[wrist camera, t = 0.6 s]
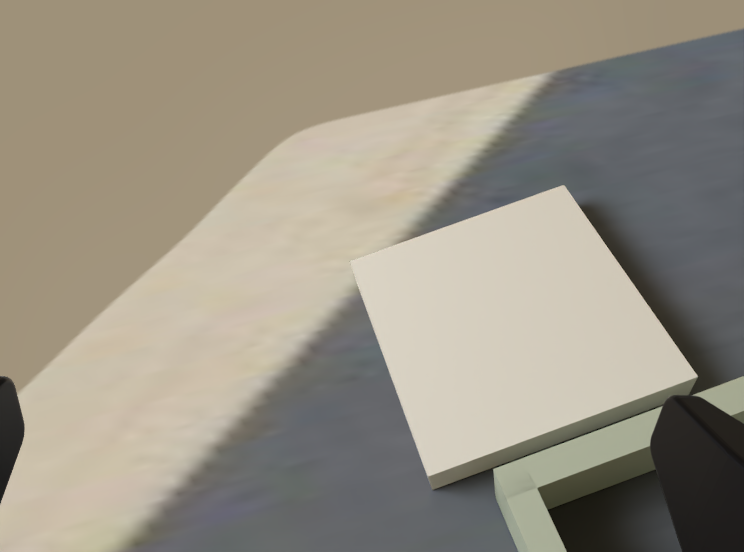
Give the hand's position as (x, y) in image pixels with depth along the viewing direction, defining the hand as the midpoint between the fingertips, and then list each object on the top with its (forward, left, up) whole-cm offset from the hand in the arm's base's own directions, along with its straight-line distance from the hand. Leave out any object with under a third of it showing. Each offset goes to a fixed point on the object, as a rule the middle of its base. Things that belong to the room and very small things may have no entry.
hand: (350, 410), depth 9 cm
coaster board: (+8, -6, -15) cm, 18 cm away
